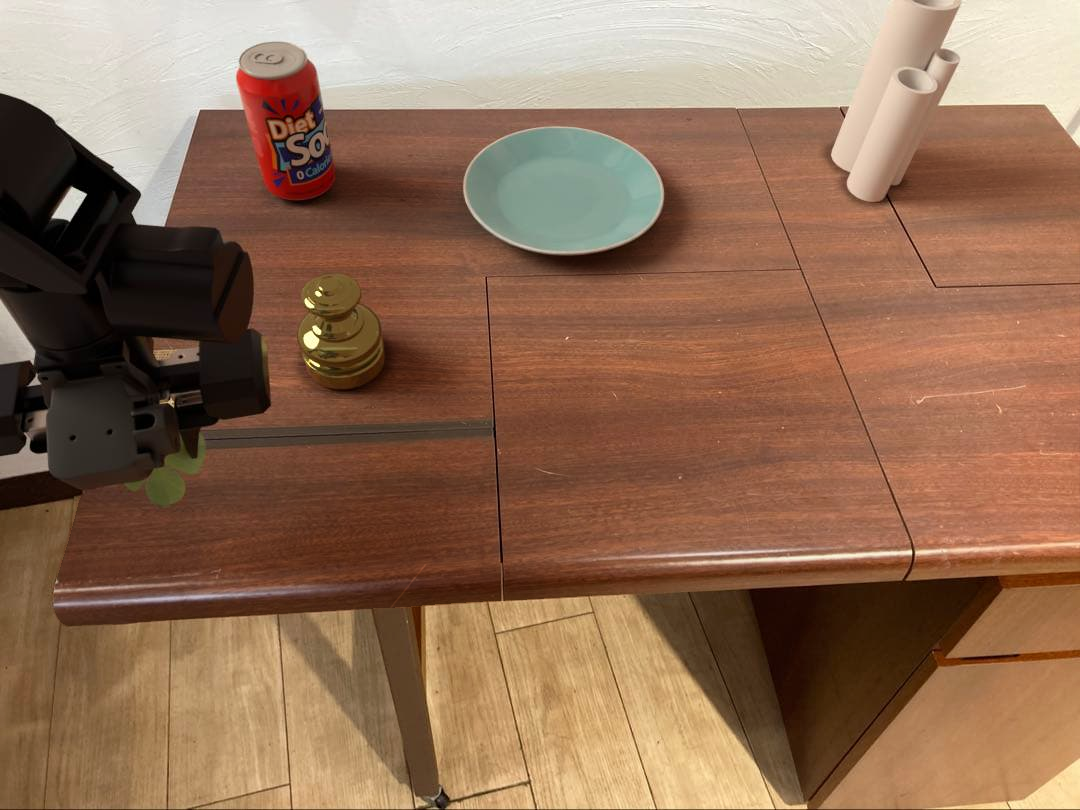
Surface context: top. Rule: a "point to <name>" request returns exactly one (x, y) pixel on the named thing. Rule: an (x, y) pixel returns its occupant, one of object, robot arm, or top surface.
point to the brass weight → (339, 333)
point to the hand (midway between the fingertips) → (160, 459)
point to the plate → (563, 191)
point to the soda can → (286, 119)
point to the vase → (896, 95)
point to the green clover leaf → (171, 475)
